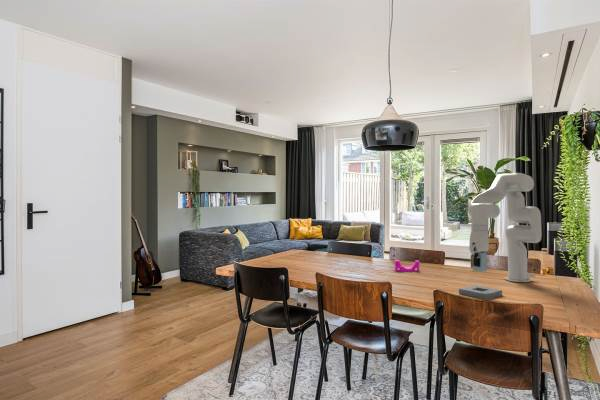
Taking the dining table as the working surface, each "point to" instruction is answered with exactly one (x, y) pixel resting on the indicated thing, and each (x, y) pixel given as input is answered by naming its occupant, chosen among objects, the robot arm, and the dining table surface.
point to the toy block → (406, 269)
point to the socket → (480, 292)
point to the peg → (481, 263)
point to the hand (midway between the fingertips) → (479, 265)
